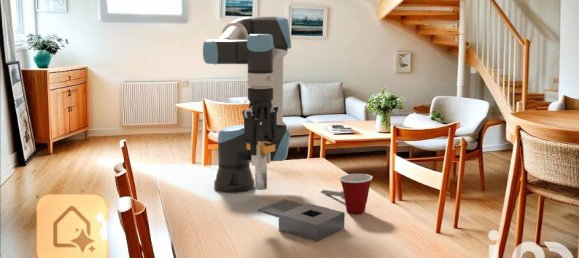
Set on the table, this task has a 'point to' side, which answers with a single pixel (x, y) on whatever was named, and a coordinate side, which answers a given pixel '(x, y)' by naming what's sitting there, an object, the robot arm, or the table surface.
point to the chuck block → (311, 222)
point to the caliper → (334, 193)
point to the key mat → (279, 207)
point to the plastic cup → (356, 192)
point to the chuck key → (262, 165)
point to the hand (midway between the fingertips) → (260, 163)
